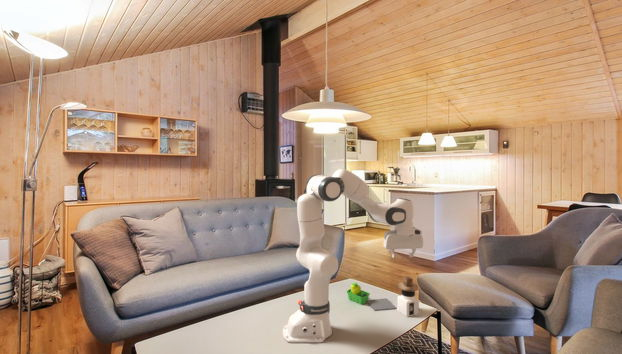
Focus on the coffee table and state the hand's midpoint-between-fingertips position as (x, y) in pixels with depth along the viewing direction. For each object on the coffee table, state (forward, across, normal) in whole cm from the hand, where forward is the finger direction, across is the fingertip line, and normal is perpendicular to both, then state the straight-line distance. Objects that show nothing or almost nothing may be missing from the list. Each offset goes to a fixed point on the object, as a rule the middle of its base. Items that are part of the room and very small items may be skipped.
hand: (402, 257), depth 166 cm
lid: (+16, +3, 0) cm, 16 cm away
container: (+29, +4, 0) cm, 29 cm away
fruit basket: (+30, -17, +18) cm, 39 cm away
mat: (+29, -6, +11) cm, 32 cm away
